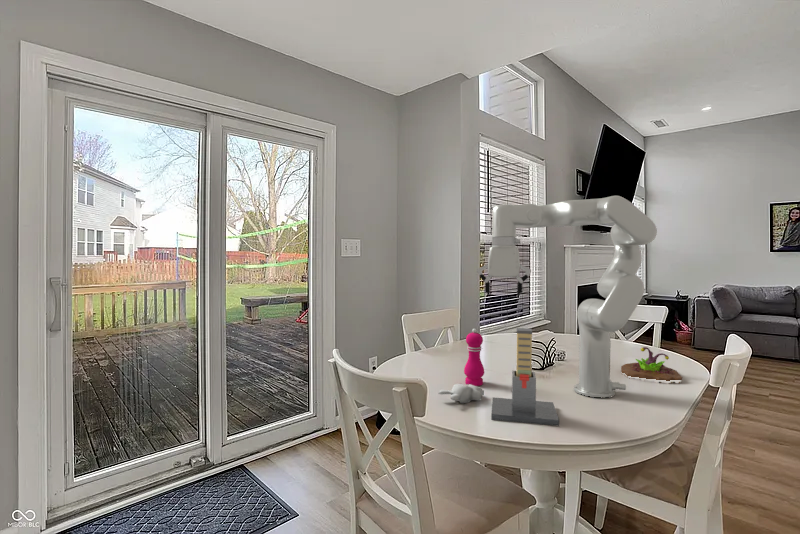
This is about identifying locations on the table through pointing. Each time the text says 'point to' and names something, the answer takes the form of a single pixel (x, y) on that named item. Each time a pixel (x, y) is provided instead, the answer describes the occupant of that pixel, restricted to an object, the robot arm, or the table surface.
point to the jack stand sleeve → (524, 404)
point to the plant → (650, 368)
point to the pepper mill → (474, 359)
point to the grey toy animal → (464, 393)
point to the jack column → (524, 351)
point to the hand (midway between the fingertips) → (503, 294)
